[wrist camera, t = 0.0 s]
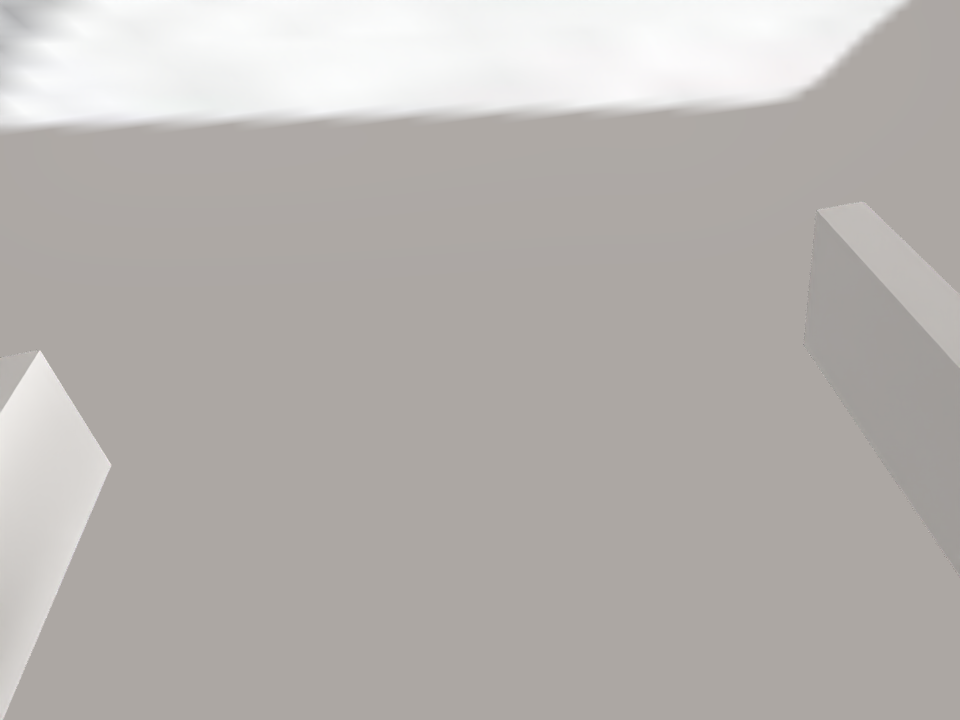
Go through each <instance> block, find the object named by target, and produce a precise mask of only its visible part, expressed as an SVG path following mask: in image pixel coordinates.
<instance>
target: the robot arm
mask: <svg viewBox="0 0 960 720" xmlns="http://www.w3.org/2000/svg"><path fill="white" fill-rule="evenodd" d="M810 271H811V272H810V281H809V291H808V302H807V313H806V323H805V333H804V344H803V345H804V347H805V348H806V349H807V351H808V353H809V354H810V356H811V357H812V359H813V360H814V361H815V363H816V365H817V366H818V367H819V369H820V370H821V372H822V373H823V375H824V376H825V378H826V379H827V381H828V382H829V384H830V385H831V387H832V388H833V390H834V391H835V393H836V394H837V396H838V397H839V399H840V400H841V402H842V403H843V405H844V406H845V408H846V409H847V411H848V412H849V414H850V415H851V417H852V418H853V420H854V421H855V422H856V424H857V425H858V427H859V428H860V430H861V431H862V433H863V434H864V436H865V437H866V439H867V440H868V442H869V443H870V445H871V446H872V448H873V449H874V451H875V452H876V454H877V455H878V457H879V458H880V459H881V461H882V463H883V464H884V465H885V467H886V469H887V470H888V471H889V473H890V475H891V476H892V477H893V479H894V480H895V482H896V483H897V485H898V486H899V487H900V489H901V491H902V492H903V494H904V495H905V497H906V498H907V500H908V501H909V503H910V504H911V506H912V507H913V508H914V510H915V511H916V513H917V515H918V516H919V518H920V519H921V521H922V522H923V524H924V525H925V527H926V528H927V530H928V531H929V533H930V534H931V535H932V537H933V538H934V540H935V541H936V543H937V544H938V546H939V547H940V549H941V550H942V552H943V553H944V555H945V556H946V558H947V559H948V561H949V562H950V564H951V565H952V567H953V568H954V570H955V571H956V573H957V574H958V575H959V577H960V294H959V293H958V292H957V291H956V290H955V289H954V288H952V287H951V286H950V285H949V284H948V283H947V282H946V281H945V280H944V279H943V278H942V277H941V276H940V275H939V274H938V273H937V272H936V271H935V270H934V269H933V268H932V267H931V266H930V265H929V264H928V263H926V261H925V260H924V259H923V258H922V257H920V255H918V254H917V253H916V252H915V251H914V250H913V249H912V248H911V247H910V246H909V245H908V244H907V243H906V242H905V241H904V240H903V239H902V238H901V237H900V236H899V235H898V234H897V233H896V232H895V231H894V230H893V229H892V228H891V227H890V226H888V224H887V223H886V222H885V221H883V220H882V219H881V218H880V217H879V216H878V215H877V214H876V213H875V212H874V211H873V210H872V209H871V208H870V207H869V206H868V205H867V204H866V203H865V202H864V201H862V202H857V203H851V204H846V205H841V206H835V207H829V208H823V209H818V210H816V217H815V228H814V239H813V249H812V260H811V270H810ZM110 467H111V464H110V462H109V461H108V459H107V457H106V456H105V454H104V452H103V451H102V449H101V448H100V446H99V444H98V443H97V441H96V440H95V438H94V437H93V435H92V433H91V432H90V430H89V428H88V427H87V425H86V424H85V422H84V420H83V419H82V417H81V415H80V414H79V412H78V411H77V409H76V407H75V406H74V404H73V403H72V401H71V399H70V398H69V396H68V394H67V393H66V391H65V390H64V388H63V386H62V385H61V383H60V382H59V380H58V378H57V377H56V375H55V374H54V372H53V370H52V369H51V367H50V365H49V364H48V362H47V361H46V359H45V358H44V356H43V354H42V353H41V351H40V350H37V351H32V352H27V353H21V354H15V355H10V356H4V357H0V720H3V718H4V716H5V713H6V711H7V708H8V706H9V704H10V701H11V699H12V697H13V695H14V692H15V690H16V688H17V685H18V683H19V681H20V678H21V676H22V673H23V671H24V669H25V666H26V663H27V662H28V659H29V657H30V655H31V652H32V650H33V648H34V645H35V643H36V640H37V638H38V636H39V634H40V631H41V629H42V627H43V624H44V622H45V619H46V617H47V615H48V612H49V610H50V608H51V605H52V603H53V601H54V598H55V596H56V594H57V591H58V589H59V587H60V584H61V582H62V580H63V577H64V575H65V572H66V570H67V568H68V565H69V563H70V561H71V558H72V556H73V554H74V551H75V549H76V547H77V544H78V542H79V540H80V537H81V535H82V533H83V530H84V528H85V526H86V523H87V521H88V518H89V516H90V514H91V511H92V509H93V507H94V504H95V502H96V500H97V497H98V495H99V493H100V490H101V488H102V485H103V483H104V481H105V478H106V476H107V474H108V472H109V469H110Z"/></svg>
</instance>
